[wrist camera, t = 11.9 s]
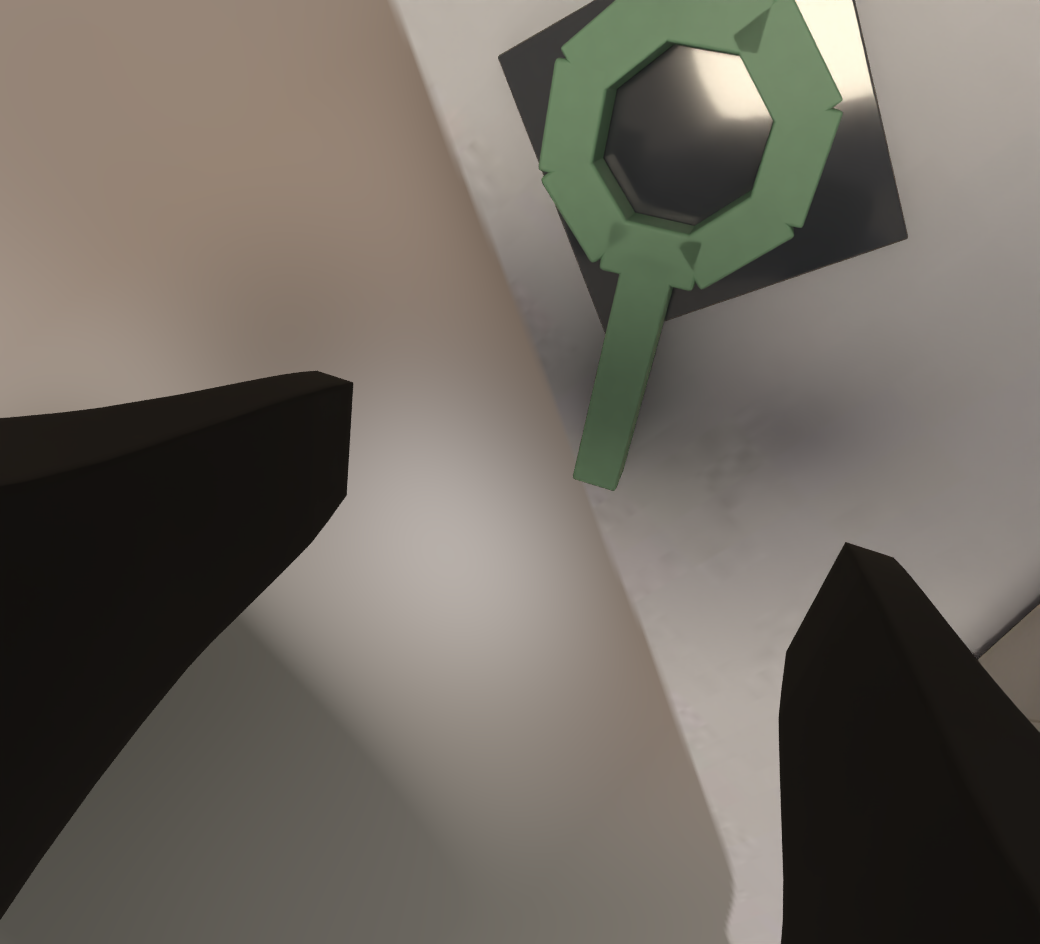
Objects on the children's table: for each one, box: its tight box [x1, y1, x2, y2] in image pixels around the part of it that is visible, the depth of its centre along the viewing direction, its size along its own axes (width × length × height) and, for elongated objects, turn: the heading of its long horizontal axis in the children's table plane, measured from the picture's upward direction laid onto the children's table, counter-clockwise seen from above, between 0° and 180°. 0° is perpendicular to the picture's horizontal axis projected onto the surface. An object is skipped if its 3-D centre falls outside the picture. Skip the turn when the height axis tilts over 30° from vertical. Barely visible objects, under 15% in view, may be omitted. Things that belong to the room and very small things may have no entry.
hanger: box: [539, 0, 843, 491], centre depth 17 cm, size 11×6×1 cm, turn 171°
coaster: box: [498, 0, 908, 334], centre depth 16 cm, size 7×7×1 cm
